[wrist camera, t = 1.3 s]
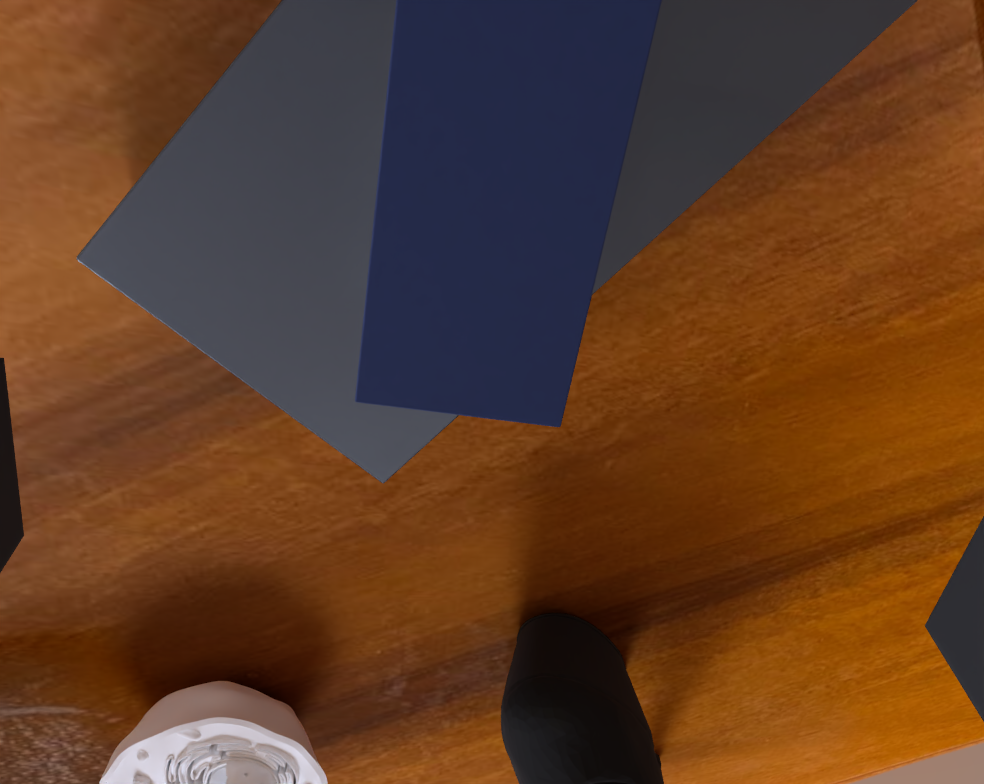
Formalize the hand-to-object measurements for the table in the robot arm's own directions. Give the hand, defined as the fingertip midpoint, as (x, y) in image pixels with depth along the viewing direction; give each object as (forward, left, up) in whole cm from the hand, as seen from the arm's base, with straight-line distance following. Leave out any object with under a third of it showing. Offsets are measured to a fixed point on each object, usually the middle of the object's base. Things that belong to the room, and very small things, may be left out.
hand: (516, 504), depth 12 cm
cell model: (+35, +14, -27) cm, 46 cm away
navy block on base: (0, 0, -20) cm, 20 cm away
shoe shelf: (0, 0, -27) cm, 27 cm away
